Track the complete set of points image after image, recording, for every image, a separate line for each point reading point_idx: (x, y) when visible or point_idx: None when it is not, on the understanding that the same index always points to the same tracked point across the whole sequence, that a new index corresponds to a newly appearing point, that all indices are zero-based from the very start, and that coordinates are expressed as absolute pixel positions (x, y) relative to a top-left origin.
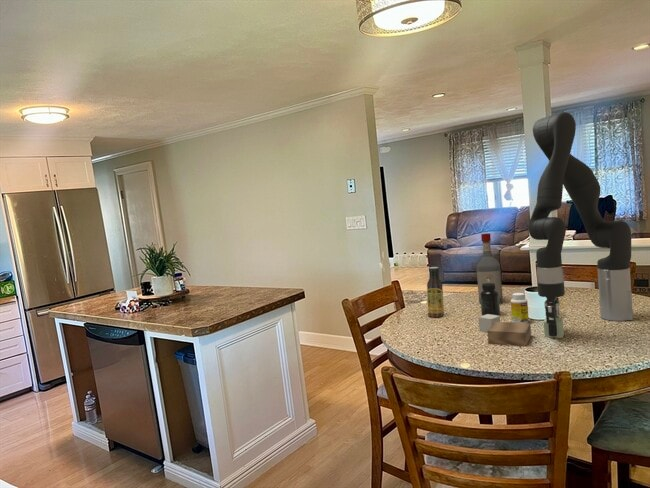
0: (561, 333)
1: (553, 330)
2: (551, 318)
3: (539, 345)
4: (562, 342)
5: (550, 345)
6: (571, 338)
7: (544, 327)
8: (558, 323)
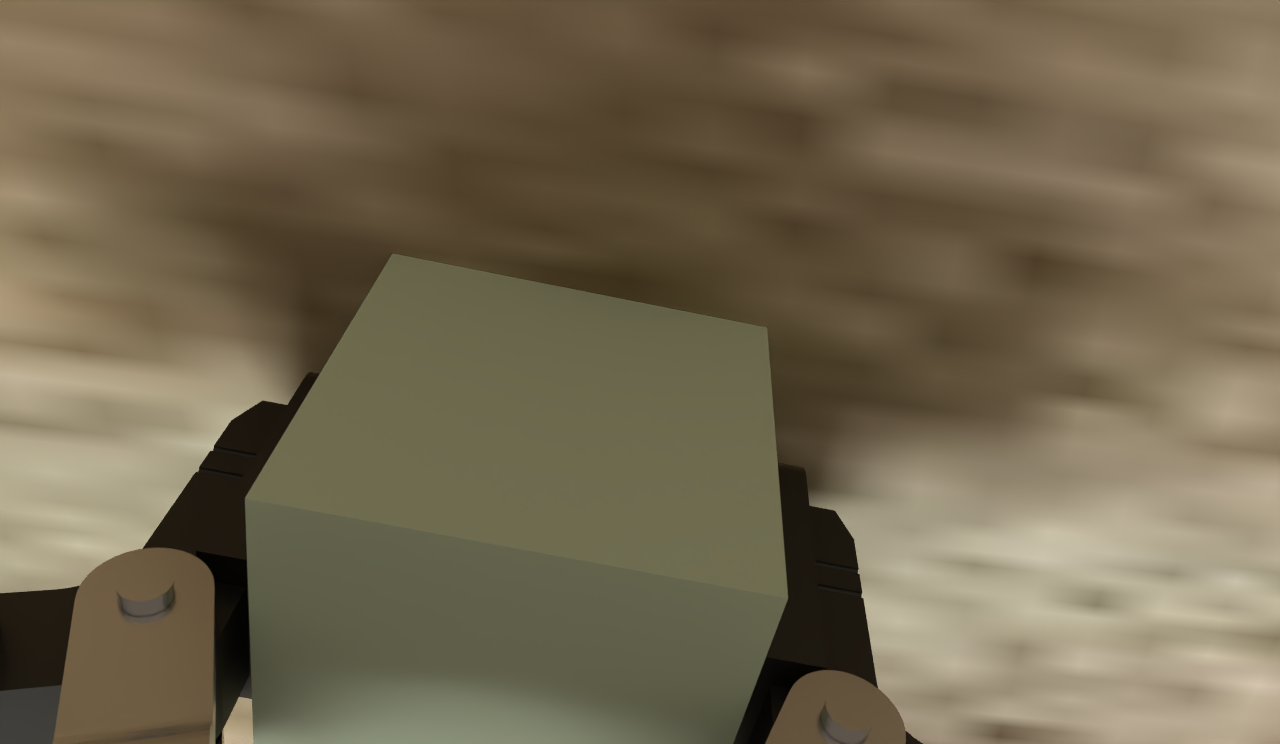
0: (766, 400)
1: (850, 614)
2: (311, 729)
3: (1199, 709)
4: (1104, 374)
5: (1250, 578)
6: (816, 155)
7: None
8: (764, 631)
